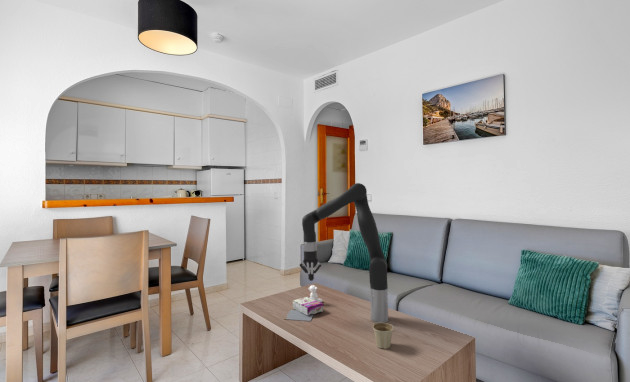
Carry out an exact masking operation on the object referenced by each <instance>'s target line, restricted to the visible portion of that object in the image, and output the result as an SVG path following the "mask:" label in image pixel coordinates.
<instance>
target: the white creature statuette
mask: <svg viewBox="0 0 630 382" xmlns="http://www.w3.org/2000/svg"><path fill="white" fill-rule="evenodd" d="M307 289H308V291H309V292H310V294H309V298H311V299H314V300H316V301H318V302H320V303H323V299H322V298H318V297H319V296H318V292H317V290H318V287H317V285H314V284H311V285H310V286H309V287H307Z"/></svg>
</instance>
